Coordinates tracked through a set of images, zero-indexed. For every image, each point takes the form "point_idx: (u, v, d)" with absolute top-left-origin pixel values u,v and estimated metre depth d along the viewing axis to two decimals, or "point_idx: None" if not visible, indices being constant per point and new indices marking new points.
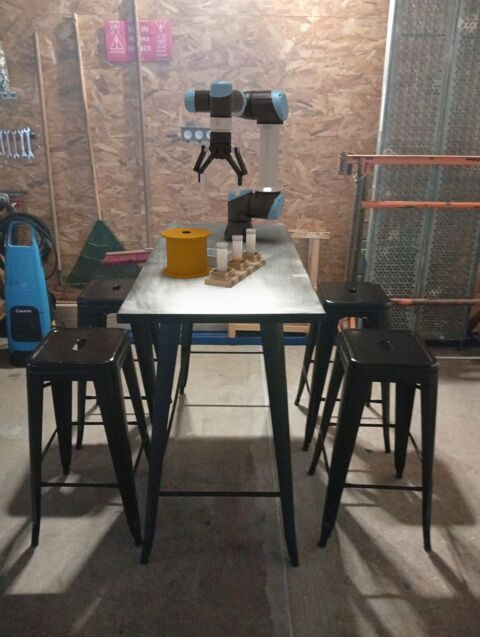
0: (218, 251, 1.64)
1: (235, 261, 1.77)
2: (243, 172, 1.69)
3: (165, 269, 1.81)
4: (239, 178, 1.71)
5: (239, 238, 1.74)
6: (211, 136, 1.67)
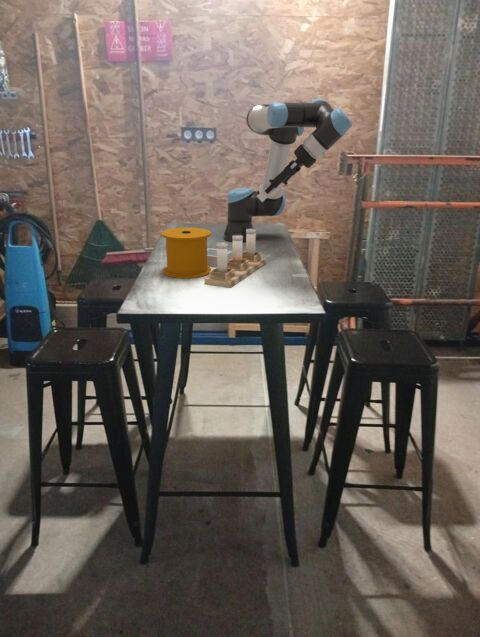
0: (218, 251, 1.64)
1: (235, 261, 1.77)
2: None
3: (165, 269, 1.81)
4: None
5: (239, 238, 1.74)
6: (311, 162, 1.58)
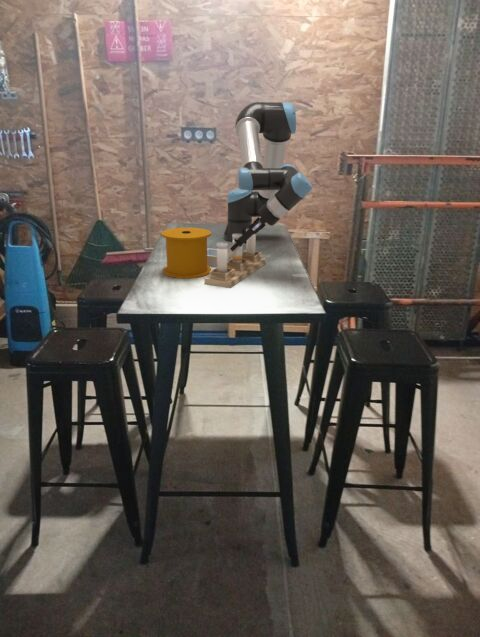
0: (218, 251, 1.64)
1: (235, 260, 1.77)
2: None
3: (165, 269, 1.81)
4: None
5: (239, 237, 1.74)
6: (274, 221, 1.68)
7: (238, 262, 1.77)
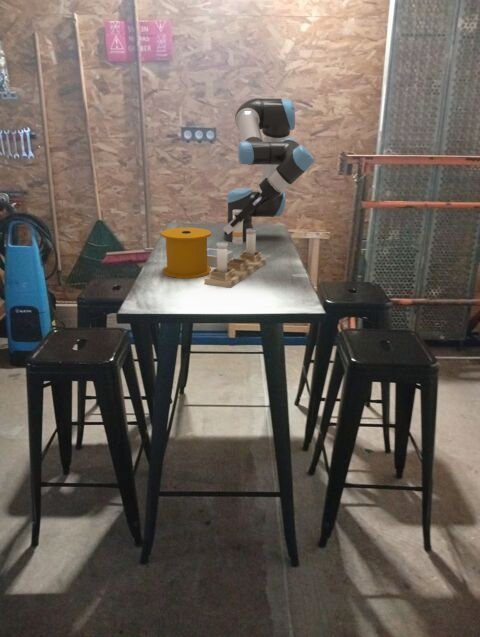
0: (218, 251, 1.64)
1: (235, 236, 1.74)
2: (248, 215, 1.76)
3: (165, 269, 1.81)
4: None
5: (239, 212, 1.70)
6: (275, 196, 1.64)
7: (238, 239, 1.74)
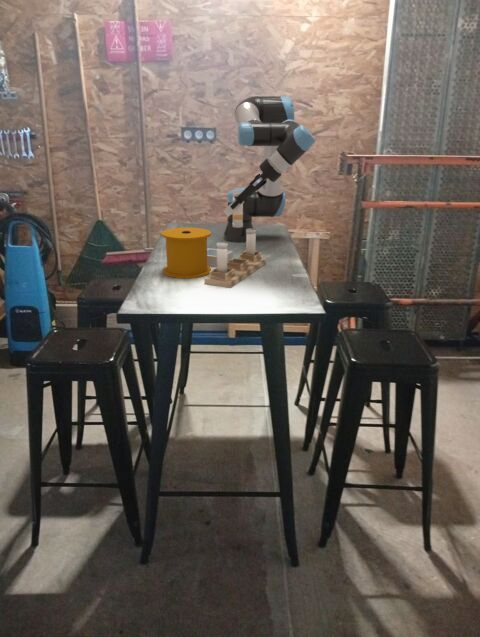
0: (218, 251, 1.64)
1: (235, 219, 1.72)
2: (248, 197, 1.75)
3: (165, 269, 1.81)
4: None
5: (239, 194, 1.68)
6: (276, 177, 1.63)
7: (238, 221, 1.72)
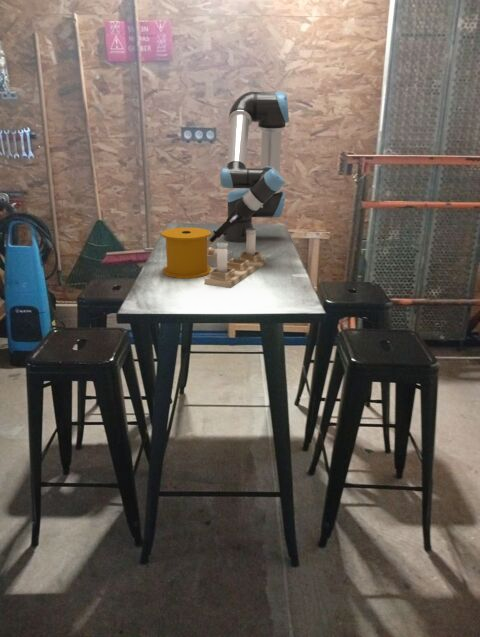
0: (218, 251, 1.64)
1: None
2: (227, 230, 1.93)
3: (165, 269, 1.81)
4: (221, 234, 1.92)
5: None
6: (250, 214, 1.81)
7: (214, 254, 1.89)
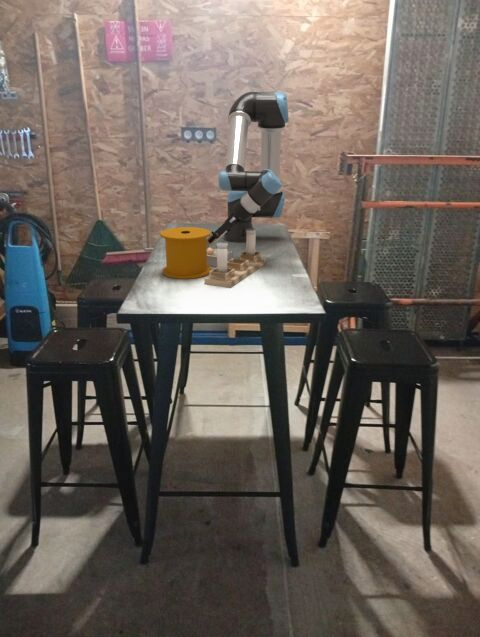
0: (218, 251, 1.64)
1: None
2: None
3: (165, 269, 1.81)
4: (225, 230, 1.96)
5: None
6: (247, 216, 1.82)
7: None
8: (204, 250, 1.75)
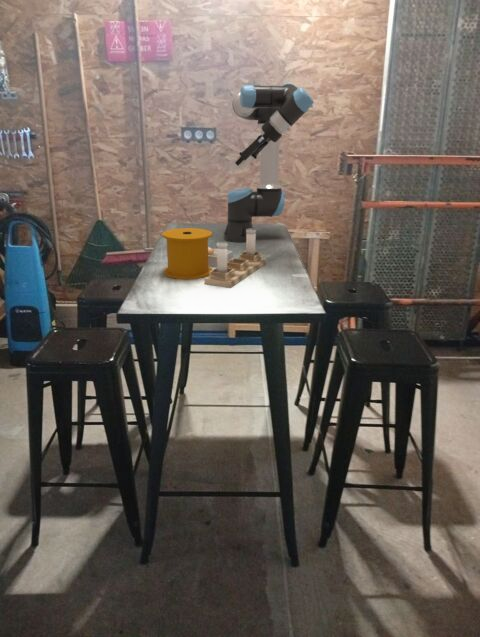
0: (218, 251, 1.64)
1: None
2: (257, 154, 1.89)
3: (166, 269, 1.81)
4: None
5: None
6: (277, 137, 1.74)
7: None
8: (205, 251, 1.75)
